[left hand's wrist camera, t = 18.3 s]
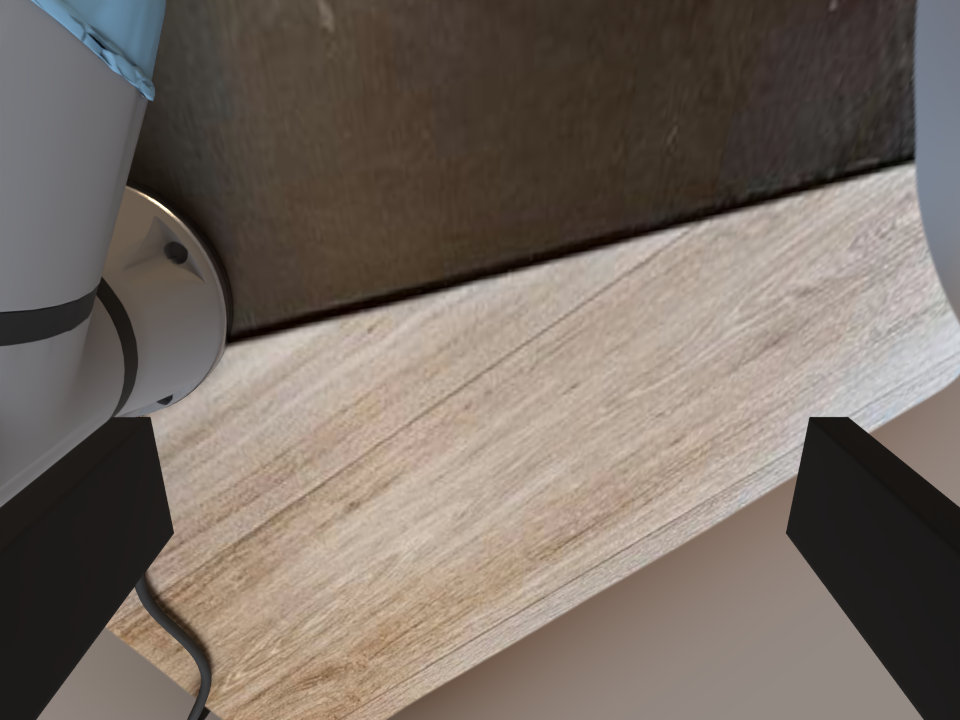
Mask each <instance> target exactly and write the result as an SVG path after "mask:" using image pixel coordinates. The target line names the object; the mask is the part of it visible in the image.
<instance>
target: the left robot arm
mask: <svg viewBox="0 0 960 720" xmlns="http://www.w3.org/2000/svg"><path fill="white" fill-rule="evenodd" d="M165 9H166V0H0V720H36V719H37V718H38V717H39V715H40V714H41V712H42V711H43V710H44V708H45V707H46V706H47V704H48V703H49V702H50V700H51V699H52V698H53V696H54V695H55V694H56V692H57V691H58V690H59V688H60V687H61V685H62V684H63V683H64V681H65V680H66V679H67V677H68V676H69V675H70V673H71V672H72V671H73V669H74V668H75V667H76V665H77V664H78V662H79V661H80V660H81V658H82V657H83V656H84V654H85V653H86V652H87V650H88V649H89V648H90V646H91V645H92V643H93V642H94V641H95V639H96V638H97V637H98V635H99V634H100V633H101V631H102V630H103V629H104V627H105V626H106V625H107V623H108V622H109V621H110V619H111V618H112V616H113V615H114V614H115V612H116V611H117V610H118V608H119V607H120V606H121V604H122V603H123V602H124V600H125V599H126V598H127V596H128V595H129V593H130V592H131V591H132V589H133V588H134V587H135V589H136V592H137V594H138V596H139V599H140V601H141V602H142V604H143V605H144V607H145V608H146V610H147V611H148V612H149V614H150V615H151V616H152V617H153V618H154V619H155V620H156V621H157V622H158V623H159V624H160V625H161V626H162V627H163V628H164V629H165V630H166V631H167V632H169V633H170V634H171V635H172V636H173V637H174V638H175V639H176V640H177V641H178V642H179V643H181V644H182V645H183V646H184V647H185V649H186V650H187V651H188V652H189V653H190V654H191V656H192V657H193V658H194V660H195V662H196V664H197V665H198V668H199V671H200V673H201V687H200V691H199V694H198V697H197V700H196V702H195V704H194V706H193V708H192V711H191V713H190V715H189V717H188V719H187V720H205V719H206V717H207V716H208V714H209V713H210V711H211V710H210V709H208V708H207V707H206V706H205V703H206V701H207V698H208V695H209V692H210V687H211V669H210V666H209V663H208V660H207V658H206V656H205V655H204V653H203V651H202V650H201V648H200V647H199V646H198V645H197V643H196V642H195V641H194V640H193V639H192V638H191V637H190V636H189V635H188V634H187V633H186V632H185V631H184V630H183V629H182V628H180V627H179V626H178V625H177V624H176V623H175V622H174V621H173V620H172V619H171V618H170V617H169V616H168V615H166V614H165V612H164V611H163V610H162V609H161V608H160V607H159V606H158V604H157V603H156V602H155V600H154V599H153V597H152V595H151V594H150V592H149V589H148V587H147V584H146V581H145V577H144V573H145V572H146V570H147V569H148V568H149V566H150V565H151V564H152V562H153V561H154V560H155V558H156V557H157V556H158V554H159V553H160V552H161V550H162V549H163V547H164V546H165V545H166V543H167V542H168V541H169V539H170V538H171V537H172V535H173V534H174V531H173V526H172V521H171V516H170V511H169V506H168V501H167V496H166V491H165V486H164V481H163V476H162V472H161V467H160V462H159V457H158V452H157V447H156V442H155V437H154V432H153V427H152V422H151V418H150V417H137V416H141V415H145V414H149V413H152V412H155V411H158V410H161V409H163V408H166V407H168V406H170V405H172V404H174V403H176V402H178V401H180V400H181V399H183V398H184V397H186V396H187V395H189V394H190V393H191V392H192V391H193V390H195V389H196V388H197V387H198V386H199V385H200V384H201V383H202V382H203V381H204V380H205V379H206V378H207V377H208V376H209V375H210V374H211V373H212V372H213V370H214V369H215V368H216V366H217V365H218V363H219V362H220V360H221V358H222V356H223V354H224V352H225V350H226V347H227V345H228V341H229V338H230V334H231V328H232V319H233V306H232V297H231V291H230V287H229V282H228V279H227V276H226V273H225V270H224V268H223V265H222V263H221V261H220V259H219V257H218V255H217V253H216V251H215V250H214V248H213V246H212V245H211V243H210V242H209V240H208V239H207V237H206V236H205V235H204V233H203V232H202V231H201V230H200V228H199V227H198V226H197V225H196V224H195V223H194V222H193V221H192V220H191V219H190V218H189V217H188V216H187V215H186V214H185V213H184V212H183V211H182V210H181V209H179V208H178V207H177V206H175V205H174V204H173V203H172V202H170V201H169V200H167V199H166V198H164V197H163V196H161V195H159V194H158V193H156V192H154V191H152V190H150V189H148V188H146V187H144V186H142V185H140V184H137V183H135V182H132V181H129V180H127V179H128V175H129V171H130V168H131V164H132V160H133V156H134V153H135V149H136V145H137V141H138V138H139V134H140V130H141V126H142V123H143V119H144V115H145V111H146V108H147V104H148V100H151V101H153V100H154V97H155V87H154V85H153V83H152V76H153V70H154V65H155V60H156V55H157V50H158V45H159V40H160V35H161V30H162V25H163V20H164V15H165ZM786 534H787V535H788V537H789V538H790V539H791V541H792V542H793V543H794V545H795V546H796V547H797V549H798V550H799V552H800V553H801V554H802V556H803V557H804V558H805V560H806V561H807V562H808V564H809V565H810V566H811V568H812V569H813V570H814V572H815V573H816V574H817V576H818V577H819V579H820V580H821V581H822V583H823V584H824V585H825V587H826V588H827V589H828V591H829V592H830V593H831V595H832V596H833V598H834V599H835V600H836V602H837V603H838V604H839V606H840V607H841V608H842V610H843V611H844V612H845V614H846V615H847V616H848V618H849V619H850V621H851V622H852V623H853V625H854V626H855V627H856V629H857V630H858V631H859V633H860V634H861V635H862V637H863V638H864V639H865V641H866V642H867V643H868V645H869V646H870V648H871V649H872V650H873V652H874V653H875V654H876V656H877V657H878V658H879V660H880V661H881V662H882V664H883V665H884V667H885V668H886V669H887V671H888V672H889V673H890V675H891V676H892V677H893V679H894V680H895V681H896V683H897V684H898V685H899V687H900V688H901V690H902V691H903V692H904V694H905V695H906V696H907V698H908V699H909V700H910V702H911V703H912V704H913V706H914V707H915V708H916V710H917V711H918V713H919V714H920V715H921V717H922V718H923V719H924V720H960V507H959V506H957V505H956V504H955V503H954V502H952V501H951V500H950V499H949V498H947V497H946V496H945V495H944V494H942V493H941V492H940V491H939V490H937V489H936V488H935V487H934V486H933V485H931V484H930V483H929V482H928V481H926V480H925V479H924V478H923V477H921V476H920V475H919V474H918V473H917V472H915V471H914V470H913V469H912V468H910V467H909V466H908V465H907V464H905V463H904V462H903V461H902V460H900V459H899V458H898V457H897V456H895V455H894V454H893V453H892V452H891V451H889V450H888V449H887V448H886V447H884V446H883V445H882V444H881V443H879V442H878V441H877V440H876V439H875V438H873V437H872V436H871V435H870V434H868V433H867V432H866V431H865V430H863V429H862V428H861V427H860V426H858V425H857V424H856V423H855V422H853V421H852V420H851V419H850V418H849V417H810V418H809V422H808V427H807V432H806V437H805V442H804V447H803V452H802V457H801V462H800V467H799V472H798V476H797V481H796V486H795V491H794V496H793V501H792V506H791V511H790V516H789V521H788V526H787V530H786Z"/></svg>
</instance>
